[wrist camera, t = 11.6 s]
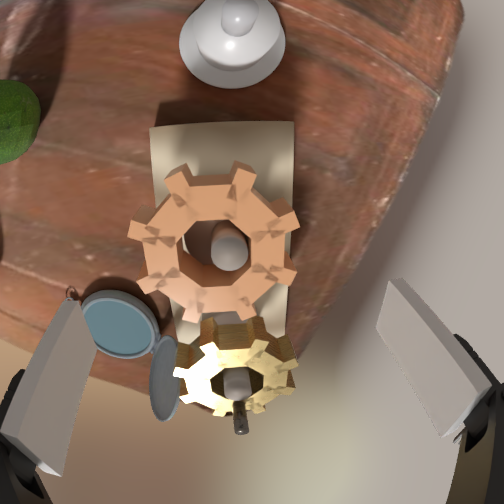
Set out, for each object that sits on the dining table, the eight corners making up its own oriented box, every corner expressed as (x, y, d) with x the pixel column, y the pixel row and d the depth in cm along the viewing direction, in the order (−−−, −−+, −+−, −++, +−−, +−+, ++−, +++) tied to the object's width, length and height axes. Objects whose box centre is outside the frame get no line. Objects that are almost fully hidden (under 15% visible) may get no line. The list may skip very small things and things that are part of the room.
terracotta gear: (132, 167, 18) (118, 177, 15) (290, 159, 19) (303, 167, 16) (153, 300, 22) (146, 325, 19) (284, 292, 23) (293, 316, 20)
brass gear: (168, 318, 23) (159, 374, 18) (294, 310, 24) (314, 362, 19) (187, 394, 27) (186, 443, 22) (286, 386, 28) (298, 434, 23)
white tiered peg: (181, 4, 19) (168, -40, 11) (281, 3, 20) (310, -37, 12) (180, 91, 23) (163, 79, 15) (283, 89, 23) (315, 78, 15)
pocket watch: (159, 437, 27) (31, 387, 22) (166, 367, 36) (62, 325, 32) (191, 392, 23) (30, 326, 19) (194, 316, 33) (73, 264, 28)
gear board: (154, 126, 24) (108, 136, 13) (288, 121, 25) (341, 128, 14) (182, 345, 35) (177, 428, 24) (279, 338, 36) (302, 417, 25)
